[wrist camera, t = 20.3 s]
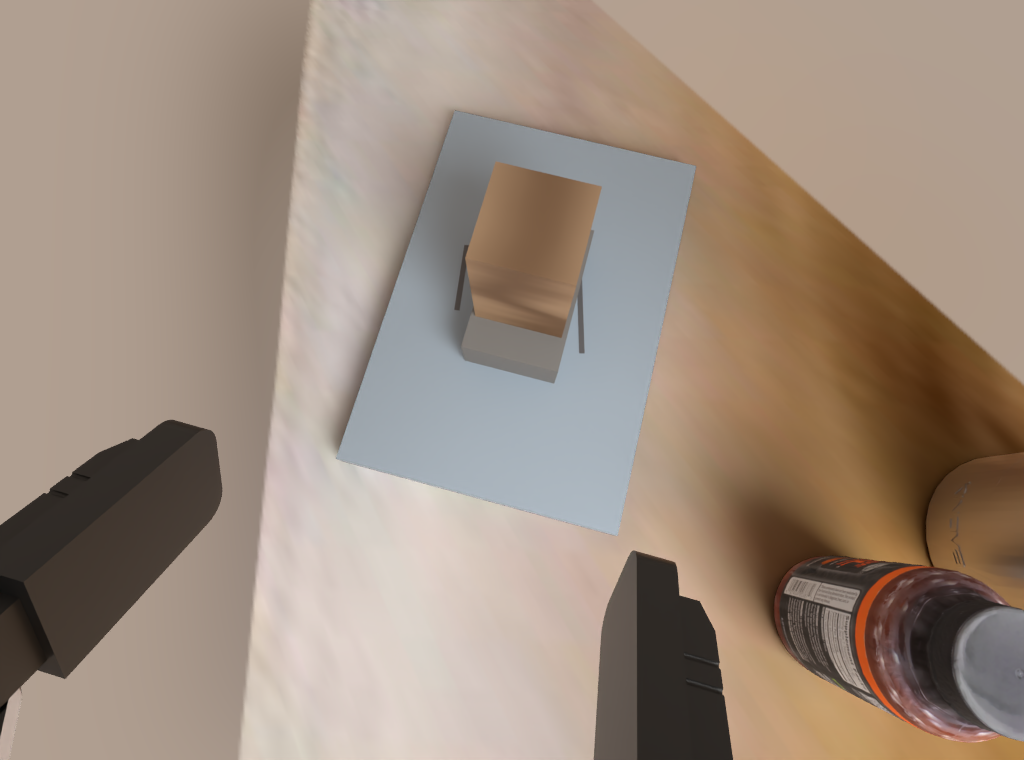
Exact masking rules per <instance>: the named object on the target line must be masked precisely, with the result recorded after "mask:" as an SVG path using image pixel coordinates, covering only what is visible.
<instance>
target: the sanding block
mask: <svg viewBox="0 0 1024 760" xmlns="http://www.w3.org/2000/svg"><path fill="white" fill-rule="evenodd" d="M601 189H602V186H598V185H594V184H589V183H585V182H581V181H577V180H572V179H568V178H564V177H560V176H556V175H551V174H547V173H543V172H539V171H534V170H530V169H526V168H522V167H518V166H513V165H509V164H505V163H501V162H495V165H494V168H493V171H492V174H491V178H490V181H489V184H488V187H487V190H486V193H485V197H484V200H483V203H482V206H481V209H480V213H479V216H478V219H477V222H476V225H475V228H474V232H473V235H472V238H471V241H470V244H469V247H468V251H467V254H466V257H465V260H466V265H467V271H468V277H469V283H470V288H471V294H472V300H473V309H472V312H471V315H470V319H469V322H468V325H467V329H466V332H465V335H464V338H463V342H462V345H461V349H462V352H463V356H464V359H465V361H469V362H472V363H476V364H480V365H484V366H488V367H492V368H496V369H499V370H503V371H507V372H511V373H515V374H519V375H522V376H526V377H530V378H534V379H538V380H542V381H545V382H549V383H553V384H554V383H555V380H556V377H557V374H558V370H559V366H560V362H561V358H562V355H563V351H564V347H565V343H566V339H567V335H568V331H569V327H570V323H571V320H572V316H573V312H574V308H575V304H576V300H577V296H578V292H579V288H580V284H581V281H582V277H583V273H584V269H585V265H586V261H587V257H588V253H589V249H590V246H591V242H592V238H593V234H594V230H591V227H592V223H593V220H594V216H595V212H596V208H597V204H598V200H599V196H600V193H601Z"/></svg>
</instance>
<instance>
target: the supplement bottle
mask: <svg viewBox="0 0 1024 760" xmlns="http://www.w3.org/2000/svg"><path fill="white" fill-rule="evenodd" d="M774 617H775V623H776V627H777V630H778V633H779V636H780V638H781V640H782V642H783V644H784V646H785V647H786V649H787V650H788V652H789V653H790V654H791V655H792V656H793V657H794V658H795V659H796V660H797V661H798V662H799V663H800V664H801V665H802V666H803V667H805V668H806V669H807V670H809V671H811V672H812V673H814V674H815V675H817V676H819V677H820V678H822V679H824V680H826V681H828V682H830V683H832V684H834V685H836V686H838V687H839V688H841V689H843V690H845V691H847V692H849V693H851V694H853V695H855V696H856V697H858V698H861V699H862V700H864V701H866V702H868V703H870V704H872V705H874V706H876V707H878V708H880V709H882V710H884V711H886V712H888V713H890V714H892V715H893V716H895V717H898V718H899V719H901V720H903V721H905V722H908V723H909V724H911V725H913V726H915V727H917V728H919V729H921V730H923V731H925V732H927V733H930V734H933V735H936V736H939V737H942V738H945V739H949V740H953V741H960V742H980V741H987V740H990V739H994V738H997V737H999V736H1001V735H1002V736H1005V737H1008V738H1011V739H1015V740H1019V741H1024V610H1022V609H1020V608H1016V607H1011V606H1010V605H1009V604H1008V603H1007V602H1006V601H1005V599H1004V598H1003V597H1001V596H1000V595H999V594H998V593H997V592H995V591H994V590H993V589H992V588H990V587H989V586H987V585H986V584H984V583H983V582H981V581H979V580H977V579H975V578H973V577H971V576H968V575H966V574H963V573H960V572H959V571H954V570H948V569H943V568H937V567H926V566H922V565H911V564H904V563H897V562H885V561H874V560H868V559H857V558H850V557H843V556H819V557H813V558H810V559H807V560H804V561H802V562H800V563H799V564H797V565H794V566H793V567H792V568H791V569H790V570H789V571H788V572H787V573H786V574H785V576H784V578H783V579H782V581H781V583H780V584H779V586H778V589H777V592H776V595H775V601H774Z"/></svg>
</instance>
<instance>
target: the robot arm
mask: <svg viewBox="0 0 1024 760" xmlns="http://www.w3.org/2000/svg"><path fill="white" fill-rule="evenodd" d="M219 467H220V466H219V459H218V451H217V442H216V437H215V435H214V433H213V432H212V431H211V430H207V429H204V428H200V427H196V426H193V425H189V424H186V423H182V422H178V421H175V420H167V421H165V422H163V423H161V424H160V425H158V426H157V427H156V428H154V429H153V430H152V431H150V432H149V433H148V434H147V435H145V436H144V437H143V438H141V439H140V440H136V439H133V438H132V439H130V440H128V441H125V442H123V443H120V444H118V445H116V446H113V447H111V448H109V449H107V450H104V451H102V452H99V453H98V454H96V455H95V456H94V457H92V458H91V459H90V460H88V461H87V462H86V463H84V464H83V465H81V466H80V467H79V468H77V469H76V470H75V471H73V472H72V475H71V476H70V477H68V476H67V477H65V478H64V479H62V480H61V481H60V482H58V483H57V484H56V485H54V486H53V487H52V488H50V492H49V493H47V494H46V493H43V494H42V495H41V496H39V497H38V498H37V499H36V500H34V501H33V502H31V503H30V504H29V505H27V506H26V507H25V508H23V509H22V510H20V511H19V512H18V513H16V514H15V515H14V516H12V517H11V518H10V519H8V520H7V521H5V522H4V523H3V524H1V525H0V760H9V758H10V754H11V749H12V744H13V739H14V734H15V729H16V725H17V719H18V715H19V710H20V705H21V700H22V691H21V686H22V685H23V684H24V683H25V682H26V681H27V680H28V679H29V678H30V677H31V676H32V675H33V674H34V673H35V672H36V671H37V670H39V671H42V672H45V673H48V674H51V675H55V676H58V677H61V678H64V679H65V678H66V677H67V676H68V675H69V674H70V673H71V672H72V671H73V670H74V669H75V668H76V667H77V665H78V664H79V663H80V662H81V661H82V660H83V659H84V658H85V657H86V655H87V654H89V652H90V651H91V650H92V649H93V648H94V647H95V646H96V645H97V644H98V643H99V642H100V640H101V639H102V638H103V637H104V636H105V635H106V634H107V633H108V632H109V631H110V630H111V628H112V627H113V626H114V625H115V624H116V623H117V622H118V621H119V620H120V619H121V618H122V616H123V615H124V614H125V613H126V612H127V611H128V610H129V609H130V608H131V607H132V606H133V604H134V603H135V602H136V601H137V600H138V599H139V598H140V597H141V596H142V594H144V592H145V591H146V590H147V589H148V588H149V587H150V586H151V585H152V584H153V583H154V582H155V580H156V579H157V578H158V577H159V576H160V575H161V574H162V573H163V572H164V571H165V570H166V568H167V567H168V566H169V565H170V564H171V563H172V562H173V561H174V560H175V559H176V557H177V556H178V555H179V554H180V553H181V552H182V551H183V550H184V549H185V548H186V547H187V546H188V544H189V543H190V542H191V541H192V540H193V539H194V538H195V537H196V536H197V535H198V534H199V532H200V531H201V530H202V529H203V528H204V527H205V526H206V525H207V524H208V522H209V521H210V520H211V519H212V517H213V516H214V514H215V513H216V511H217V509H218V506H219V504H220V501H221V497H222V483H221V475H220V468H219ZM926 540H927V545H928V549H929V553H930V558H931V561H932V563H933V565H934V567H937V568H943V569H948V570H954V571H959V572H960V573H963V574H966V575H968V576H971V577H973V578H975V579H977V580H979V581H981V582H983V583H984V584H986V585H987V586H989V587H990V588H992V589H993V590H994V591H995V592H997V593H998V594H999V595H1000V596H1001V597H1003V598H1004V599H1005V601H1006V602H1007V603H1008V604H1009V605H1010V606H1011V607H1016V608H1020V609H1022V610H1024V452H1021V453H1014V454H1006V455H999V456H991V457H985V458H979V459H974V460H972V461H969V462H967V463H964V464H962V465H960V466H958V467H957V468H956V469H954V470H953V471H952V472H950V473H949V474H948V475H946V477H945V478H944V479H943V480H942V482H941V483H940V484H939V485H938V487H937V488H936V490H935V492H934V494H933V497H932V499H931V501H930V503H929V508H928V513H927V518H926ZM719 663H720V662H719V655H718V648H717V641H716V634H715V630H714V628H713V626H712V624H711V622H710V620H709V618H708V617H707V615H706V613H705V611H704V609H703V607H702V605H701V603H700V601H697V600H693V599H690V598H686V597H683V596H679V585H678V573H677V567H676V564H675V562H673V561H669V560H665V559H662V558H658V557H655V556H651V555H648V554H644V553H641V552H637V551H632V552H631V553H630V555H629V557H628V559H627V562H626V564H625V566H624V568H623V571H622V573H621V575H620V577H619V580H618V582H617V584H616V587H615V589H614V591H613V593H612V596H611V598H610V600H609V603H608V606H607V609H606V612H605V616H604V621H603V627H602V634H601V648H600V664H599V681H598V698H597V715H596V732H595V748H594V760H733V756H732V749H731V742H730V735H729V727H728V720H727V713H726V706H725V699H724V696H723V695H722V690H723V684H722V677H721V670H720V669H719Z"/></svg>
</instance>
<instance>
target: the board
mask: <svg viewBox="0 0 1024 760" xmlns="http://www.w3.org/2000/svg"><path fill="white" fill-rule="evenodd" d="M495 162H501V163H505V164H509V165H513V166H518V167H522V168H526V169H530V170H534V171H539V172H543V173H547V174H551V175H556V176H560V177H564V178H568V179H572V180H577V181H581V182H585V183H589V184H594V185H598V186H602V189H601V193H600V196H599V200H598V204H597V208H596V212H595V216H594V220H593V223H592V227H591V230H594V234H593V238H592V242H591V246H590V249H589V253H588V257H587V261H586V265H585V269H584V273H583V277H582V281H581V284H580V288H579V292H578V296H577V300H576V304H575V308H574V312H573V316H572V320H571V323H570V327H569V331H568V335H567V339H566V343H565V347H564V351H563V355H562V358H561V362H560V366H559V370H558V374H557V377H556V380H555V383H554V384H553V383H549V382H545V381H542V380H538V379H534V378H530V377H526V376H522V375H519V374H515V373H511V372H507V371H503V370H499V369H496V368H492V367H488V366H484V365H480V364H476V363H472V362H469V361H465V359H464V356H463V352H462V349H461V345H462V342H463V338H464V335H465V332H466V329H467V325H468V322H469V319H470V315H471V312H472V309H473V300H472V294H471V288H470V283H469V277H468V271H467V265H466V260H465V257H466V254H467V251H468V247H469V244H470V241H471V238H472V235H473V232H474V228H475V225H476V222H477V219H478V216H479V213H480V209H481V206H482V203H483V200H484V197H485V193H486V190H487V187H488V184H489V181H490V178H491V174H492V171H493V168H494V165H495ZM695 170H696V166H694V165H690V164H685V163H681V162H677V161H672V160H668V159H664V158H660V157H655V156H651V155H647V154H642V153H638V152H634V151H629V150H625V149H621V148H616V147H612V146H608V145H603V144H599V143H595V142H590V141H586V140H582V139H577V138H573V137H569V136H564V135H560V134H556V133H551V132H547V131H543V130H538V129H534V128H530V127H525V126H521V125H517V124H512V123H508V122H504V121H499V120H495V119H491V118H486V117H482V116H478V115H473V114H469V113H465V112H460V111H456V110H455V111H454V114H453V117H452V120H451V123H450V126H449V129H448V132H447V135H446V138H445V141H444V144H443V147H442V149H441V152H440V155H439V158H438V161H437V164H436V167H435V170H434V173H433V176H432V179H431V182H430V185H429V187H428V190H427V193H426V196H425V199H424V202H423V205H422V208H421V211H420V214H419V217H418V220H417V223H416V226H415V228H414V231H413V234H412V237H411V240H410V243H409V246H408V249H407V252H406V255H405V258H404V261H403V264H402V266H401V269H400V272H399V275H398V278H397V281H396V284H395V287H394V290H393V293H392V296H391V299H390V302H389V305H388V307H387V310H386V313H385V316H384V319H383V322H382V325H381V328H380V331H379V334H378V337H377V340H376V343H375V345H374V348H373V351H372V354H371V357H370V360H369V363H368V366H367V369H366V372H365V375H364V378H363V381H362V384H361V386H360V389H359V392H358V395H357V398H356V401H355V404H354V407H353V410H352V413H351V416H350V419H349V422H348V424H347V427H346V430H345V433H344V436H343V439H342V442H341V445H340V448H339V451H338V454H337V457H336V459H338V460H341V461H344V462H347V463H351V464H355V465H358V466H362V467H366V468H369V469H373V470H377V471H380V472H384V473H388V474H391V475H395V476H399V477H402V478H406V479H410V480H413V481H417V482H420V483H424V484H428V485H431V486H435V487H439V488H442V489H446V490H450V491H453V492H457V493H461V494H464V495H468V496H472V497H475V498H479V499H483V500H486V501H490V502H494V503H497V504H501V505H504V506H508V507H512V508H515V509H519V510H523V511H526V512H530V513H534V514H537V515H541V516H545V517H548V518H552V519H556V520H559V521H563V522H567V523H570V524H574V525H578V526H581V527H585V528H589V529H592V530H596V531H599V532H603V533H607V534H610V535H615V536H618V531H619V527H620V522H621V517H622V513H623V508H624V503H625V499H626V494H627V489H628V484H629V480H630V475H631V470H632V466H633V461H634V456H635V452H636V447H637V442H638V437H639V433H640V428H641V423H642V419H643V414H644V409H645V405H646V400H647V395H648V391H649V386H650V381H651V376H652V372H653V367H654V362H655V358H656V353H657V348H658V344H659V339H660V334H661V329H662V325H663V320H664V315H665V311H666V306H667V301H668V297H669V292H670V287H671V282H672V278H673V273H674V268H675V264H676V259H677V254H678V250H679V245H680V240H681V236H682V231H683V226H684V221H685V217H686V212H687V207H688V203H689V198H690V193H691V189H692V184H693V179H694V174H695Z"/></svg>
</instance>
